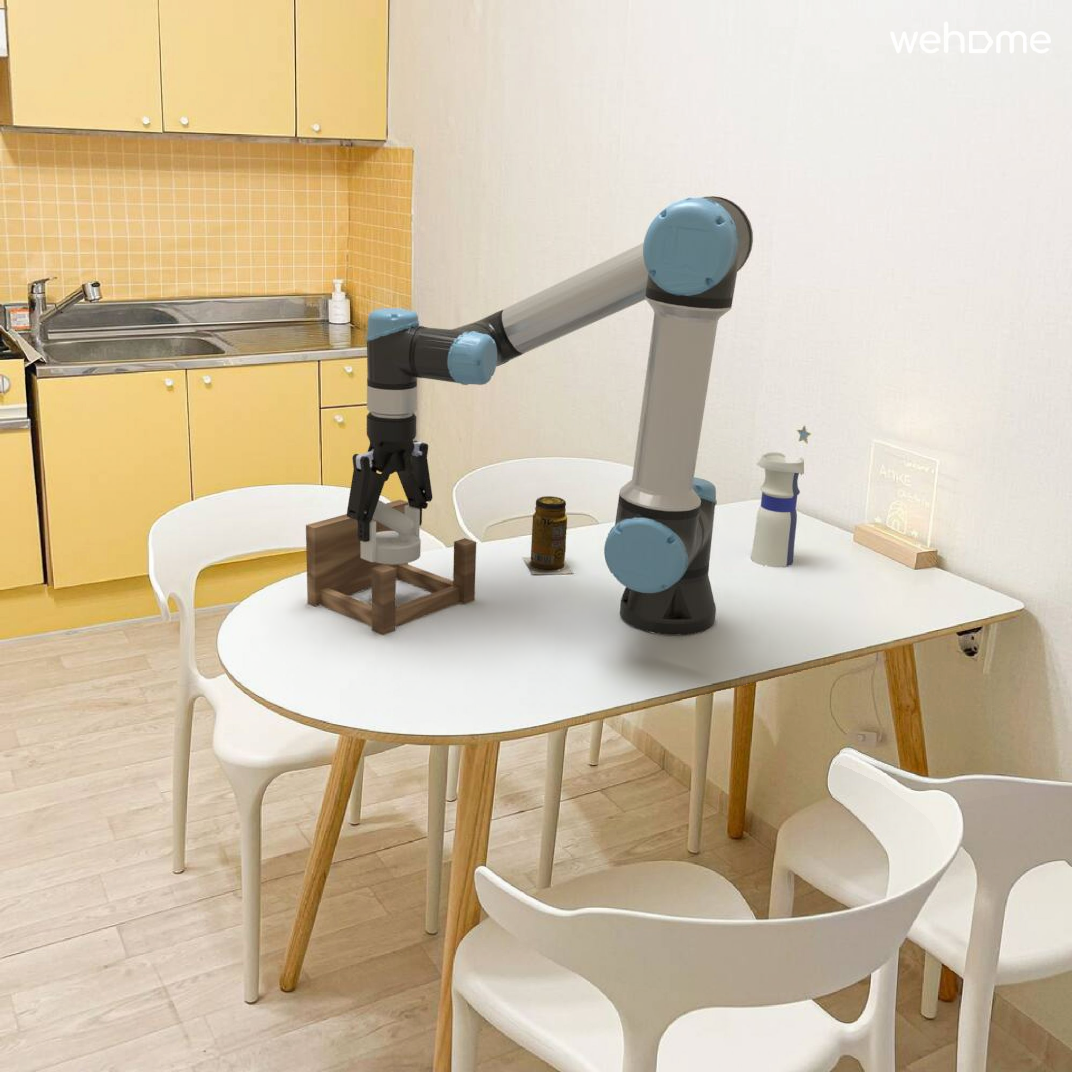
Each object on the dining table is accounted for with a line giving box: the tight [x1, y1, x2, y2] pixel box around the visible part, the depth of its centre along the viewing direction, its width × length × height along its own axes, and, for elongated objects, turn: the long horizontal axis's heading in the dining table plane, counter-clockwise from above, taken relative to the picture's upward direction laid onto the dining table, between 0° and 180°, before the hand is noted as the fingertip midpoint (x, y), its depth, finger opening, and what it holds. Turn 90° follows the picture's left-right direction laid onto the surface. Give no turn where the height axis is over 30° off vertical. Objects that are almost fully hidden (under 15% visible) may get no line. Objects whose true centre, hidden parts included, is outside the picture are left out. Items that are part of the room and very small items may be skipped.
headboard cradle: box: [305, 499, 477, 636], centre depth 183 cm, size 18×20×13 cm
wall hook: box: [365, 499, 422, 564], centre depth 181 cm, size 9×10×10 cm
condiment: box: [522, 495, 574, 575], centre depth 202 cm, size 7×8×12 cm
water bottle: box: [750, 424, 812, 568], centre depth 208 cm, size 8×8×25 cm
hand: (390, 552), depth 183 cm, fingers closed on wall hook, 9 cm apart
